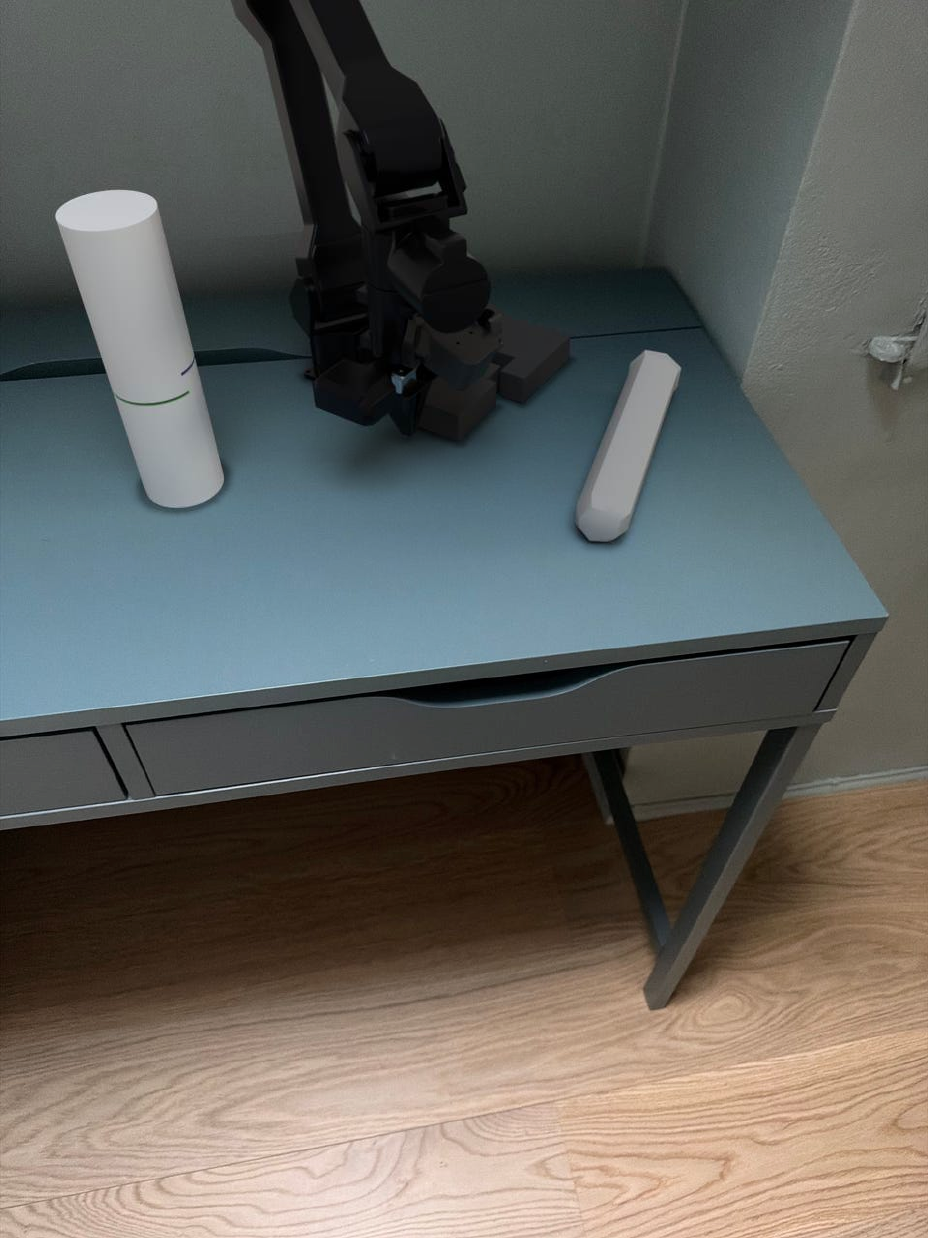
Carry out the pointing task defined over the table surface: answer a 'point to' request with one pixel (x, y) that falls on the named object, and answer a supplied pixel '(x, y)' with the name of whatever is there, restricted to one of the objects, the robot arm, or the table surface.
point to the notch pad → (528, 357)
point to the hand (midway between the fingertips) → (408, 434)
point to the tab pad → (459, 405)
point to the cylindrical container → (143, 341)
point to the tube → (627, 447)
